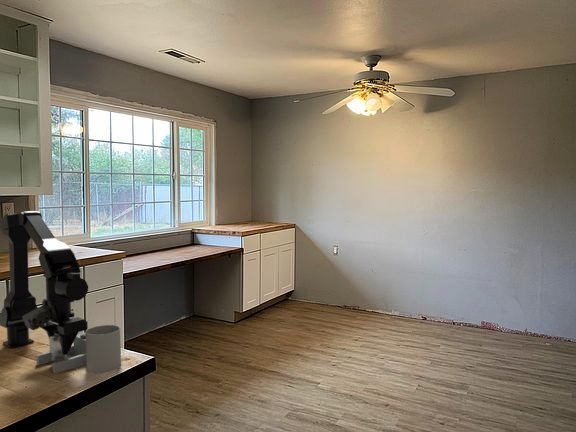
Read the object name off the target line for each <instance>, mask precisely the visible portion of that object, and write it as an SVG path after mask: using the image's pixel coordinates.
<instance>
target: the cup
mask: <svg viewBox="0 0 576 432" xmlns="http://www.w3.org/2000/svg"><path fill="white" fill-rule="evenodd" d="M84 333H86V364H85V365H86V371H87V372H88V373H90V374H106V373H111V372H113V371H117V370H118V369H120V368H121V366H122V346H121V345H122V344H121V343H122V342H121V341H122V340H121V327H120V326H119V325H115V324H114V325H113V324H104V325H103V324H102V325H97V326H93V327H90V328H88V329H87V330H85V332H84Z"/></svg>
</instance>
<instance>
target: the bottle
mask: <svg viewBox="0 0 576 432" xmlns="http://www.w3.org/2000/svg"><path fill="white" fill-rule="evenodd" d="M56 332H57V331H56ZM48 342H49V351H50V360H54V361H53V362H58V361H61V360H64V359H68V358H71V357H72V356H71V348H70V350H69V353H68V354H67V355H63V352H62V347H61V342H60V337H59V336H58V335H56V334H55V333H54V334H51V335H50V336H49V337H48Z"/></svg>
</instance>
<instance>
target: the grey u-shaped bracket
mask: <svg viewBox="0 0 576 432" xmlns="http://www.w3.org/2000/svg"><path fill="white" fill-rule="evenodd" d="M75 355H76V356H75ZM35 356H36V365H38V366H41V365H44V364H48V363H51V362H52V374H55V375H56V374H58V373H59V374H60V373H62V372H65V371H68V370H71V369H74V368H78V367H80V366H83V365H87V364H86V333H85V332H82V333H78V334H77V336H76V338H75V340H74V342H73V345H72V346H71V356H70V357H69V358H67V359H64V360H57V361H54V360H50V350H49V351H46V352H43V353H39V354H36V355H35Z"/></svg>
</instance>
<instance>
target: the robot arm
mask: <svg viewBox="0 0 576 432" xmlns="http://www.w3.org/2000/svg"><path fill="white" fill-rule="evenodd" d="M42 216H43V215H42V212H40V211H38V210H29V211H28V210H25V211H22V212H17V213H16V212H15V213H5V214H4V215H3V217H1V218H0V229H1V232H2V233H1V234H2V236H3V237H4V238H5V239H6V241H7V242H8V245H9V246H8V250H9V253H8V254H9V257H8V258H9V292H8V293H7V295H6V297H5V298H4V300H3V307H2V309H1V311H0V326H1V327H3V328H5V329H6V340H5V341H2V344H3V345H4V346H5V347H9V348H11V349H12V348H13V349H14V348H17V347H19V346H25V345H29V344H31V343H34V341H35V340H33V339H31V338H30V330H31V331H35V330H38V329H39V328H41V329H42V330H44V331H45V332H46V334H47V336H48V338H49V336H50V335H51V334H54V333H55V334H56V335H58V336H59V337H60V342H61V347H62V352H63V355H67V354H68V353H69V350H70V348H71V346H73V345H74V340H75V338H76V336H77V335H78V334H79V332H84V331H86V330H88V329H89V327H88V323H89V322H88V321H87V320H86V319H84V318H82V317H78V316H76V317H75V312H72V303H73V302H75V301H77V302H78V301H80V300H83V299H84V298H85V296H86V295H88V292H89V285H88V282H87V281H86V280H85V279H84V278H81V269H80V267H81V265H80V263H79V262H78V259H77V258H76V256H75V255H76V254H75V253H74V251H73V250H72V249H71V248H70V246H68V245H67V243H66V242H62V241H60V240H58V239H57V238H56V237H55V235H54V233H52V231H51V229H50V228H49V227H48V225H47V224H46V223H45V221H44V219H43V217H42ZM30 240H32V241H33V243H34V244H35V246H36V247H37V249H38V251H39V256H38V262H39V264H40V267H41V268H42V271H44V273H43V274H42V276H43V277H44V278H45V291H46V292H45V293H46V298H44V299H43V300H42V305H41V306H40V307H38V305H37V299H36V297H35V296H33V294H32V293H31V292H30V290H29V286H30V285H29V247H28V246H29V242H30ZM56 331H57V332H56Z"/></svg>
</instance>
